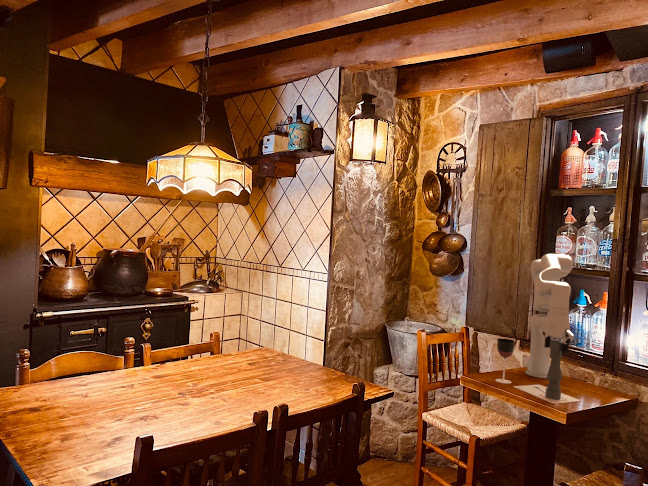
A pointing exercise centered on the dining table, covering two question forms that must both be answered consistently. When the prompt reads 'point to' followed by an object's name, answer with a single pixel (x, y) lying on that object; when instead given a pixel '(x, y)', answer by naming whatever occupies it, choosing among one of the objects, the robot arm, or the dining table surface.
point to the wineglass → (505, 353)
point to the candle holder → (554, 371)
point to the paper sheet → (541, 392)
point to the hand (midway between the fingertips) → (556, 350)
